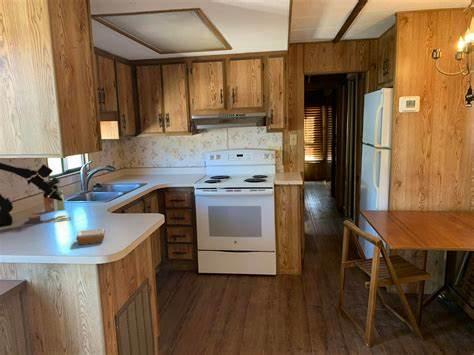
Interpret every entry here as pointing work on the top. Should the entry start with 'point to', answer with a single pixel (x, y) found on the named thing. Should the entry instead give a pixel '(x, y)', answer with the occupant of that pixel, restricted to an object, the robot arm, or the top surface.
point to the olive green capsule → (60, 203)
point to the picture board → (58, 219)
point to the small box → (50, 204)
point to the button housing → (35, 219)
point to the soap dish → (90, 236)
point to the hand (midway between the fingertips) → (62, 199)
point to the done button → (34, 216)
